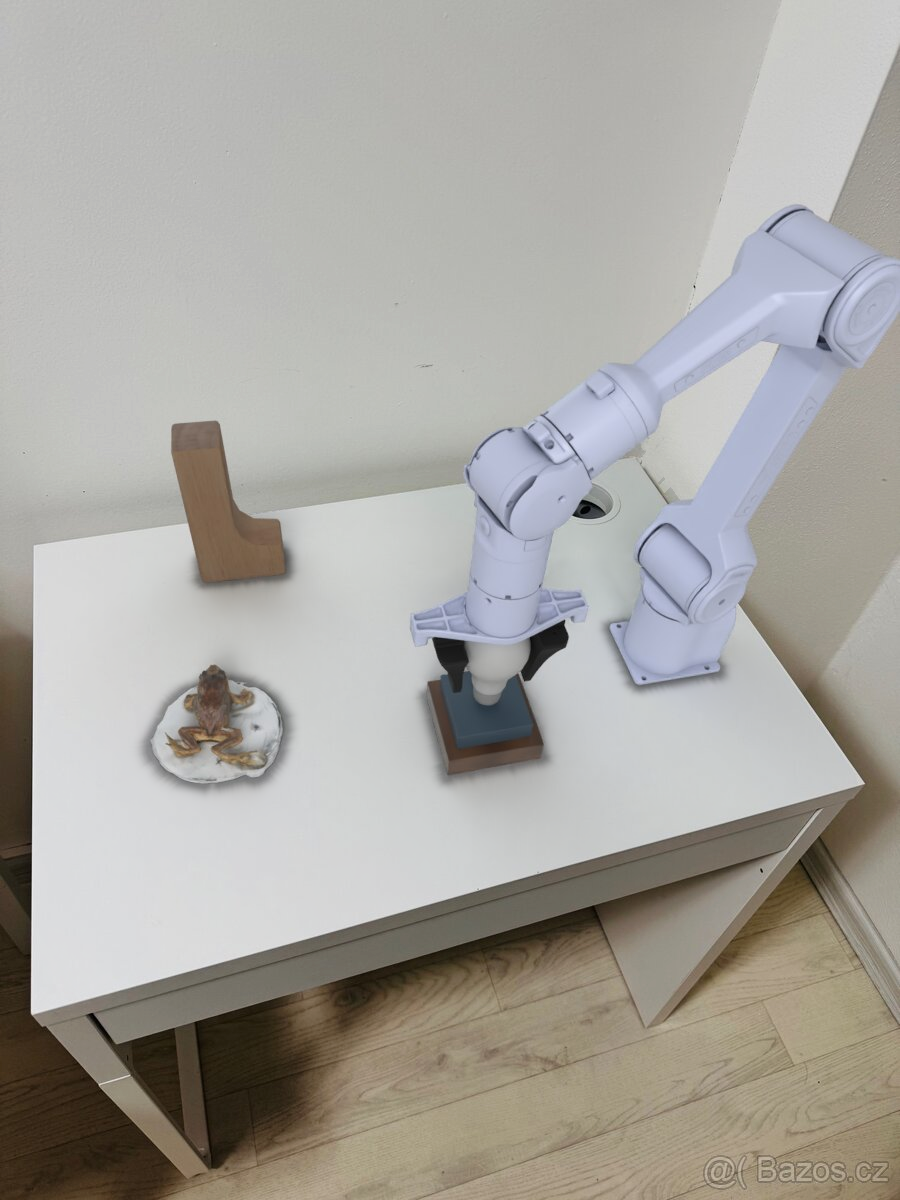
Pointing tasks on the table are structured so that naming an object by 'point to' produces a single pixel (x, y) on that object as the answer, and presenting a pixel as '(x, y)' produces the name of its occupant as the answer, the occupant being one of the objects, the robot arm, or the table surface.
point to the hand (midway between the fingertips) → (489, 677)
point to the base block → (479, 754)
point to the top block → (485, 714)
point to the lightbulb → (494, 667)
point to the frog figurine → (218, 731)
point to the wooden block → (220, 510)
